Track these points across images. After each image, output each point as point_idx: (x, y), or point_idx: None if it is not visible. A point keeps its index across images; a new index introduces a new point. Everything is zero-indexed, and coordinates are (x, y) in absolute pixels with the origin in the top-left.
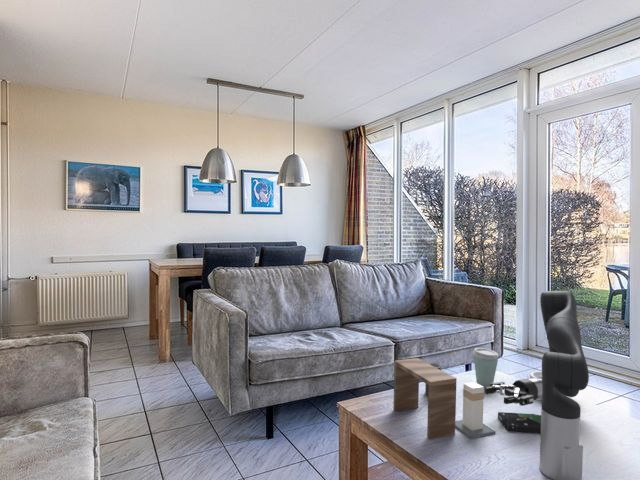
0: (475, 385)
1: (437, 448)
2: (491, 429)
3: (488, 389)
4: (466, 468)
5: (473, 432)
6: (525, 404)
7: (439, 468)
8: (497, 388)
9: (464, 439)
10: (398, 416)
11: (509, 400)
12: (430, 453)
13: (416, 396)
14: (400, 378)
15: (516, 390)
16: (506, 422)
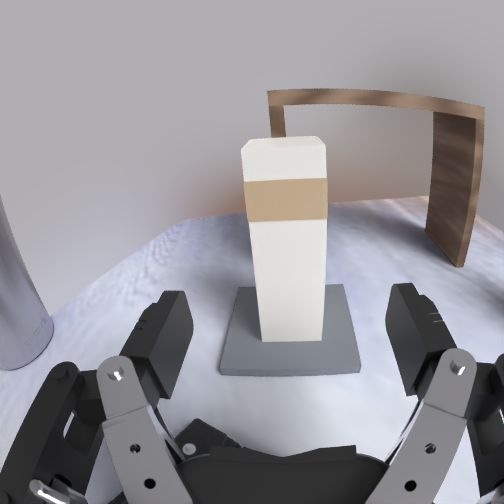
0: (276, 142)
1: (244, 233)
2: (238, 364)
3: (398, 305)
4: (166, 241)
5: (252, 302)
6: (70, 437)
7: (195, 220)
8: (485, 455)
9: (245, 280)
10: (399, 228)
11: (145, 316)
12: (236, 223)
13: (460, 230)
14: (439, 150)
15: (161, 482)
16: (223, 438)
